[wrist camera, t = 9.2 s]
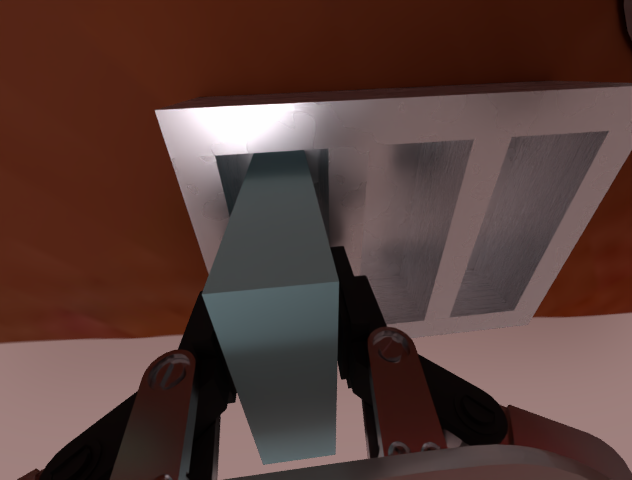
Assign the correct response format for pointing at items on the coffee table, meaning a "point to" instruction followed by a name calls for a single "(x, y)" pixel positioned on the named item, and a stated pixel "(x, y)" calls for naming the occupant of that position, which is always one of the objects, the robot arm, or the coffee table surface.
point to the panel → (279, 309)
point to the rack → (423, 184)
